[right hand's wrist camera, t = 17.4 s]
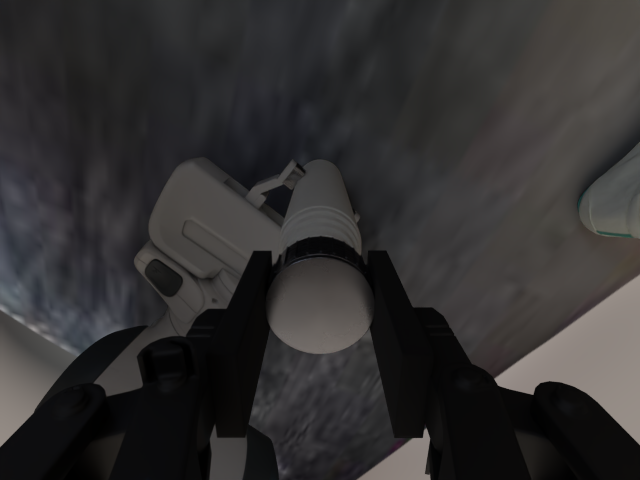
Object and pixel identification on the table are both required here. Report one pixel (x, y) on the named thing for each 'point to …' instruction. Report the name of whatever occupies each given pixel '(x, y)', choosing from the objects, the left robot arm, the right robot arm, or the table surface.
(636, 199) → the ballet flat
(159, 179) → the table surface
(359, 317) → the cap
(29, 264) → the table surface
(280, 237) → the bottle
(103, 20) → the table surface
